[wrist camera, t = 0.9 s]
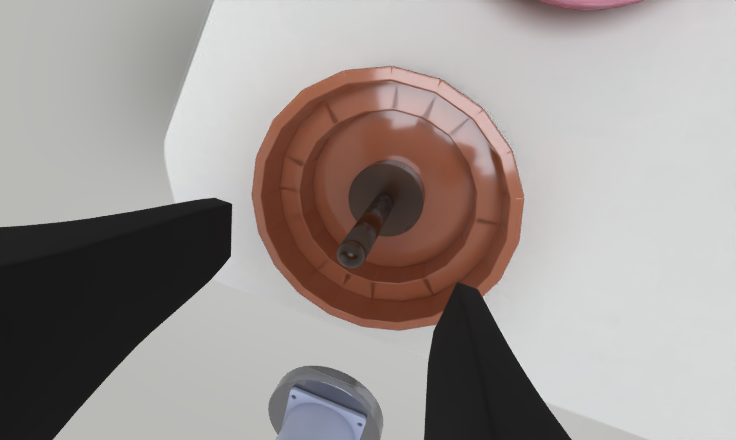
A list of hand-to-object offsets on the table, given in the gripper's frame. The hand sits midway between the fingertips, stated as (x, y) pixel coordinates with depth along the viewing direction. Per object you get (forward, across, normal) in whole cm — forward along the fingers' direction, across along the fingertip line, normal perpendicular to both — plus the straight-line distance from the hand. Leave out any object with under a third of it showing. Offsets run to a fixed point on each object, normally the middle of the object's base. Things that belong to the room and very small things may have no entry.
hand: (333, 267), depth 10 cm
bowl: (+12, 0, +2) cm, 12 cm away
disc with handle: (+11, 0, +2) cm, 12 cm away
